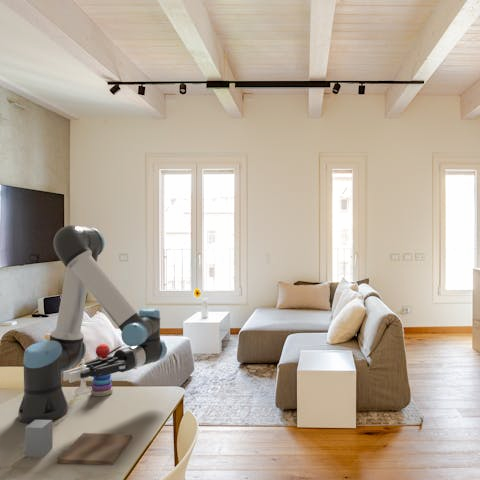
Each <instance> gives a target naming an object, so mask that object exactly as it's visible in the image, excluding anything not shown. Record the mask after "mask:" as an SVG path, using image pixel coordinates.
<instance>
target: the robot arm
mask: <svg viewBox="0 0 480 480" xmlns="http://www.w3.org/2000/svg"><path fill="white" fill-rule="evenodd" d="M104 248H105V238H104V236H103V234H102V233H101V232H100V231H99V230H98V229H96V228H95V227H91V226H88V225H87V226H85V225H74V224H73V225H66V226H64V227H61V228H60V229H58V231H57V232H56V234H55V236H54V237H53V249H54V251H55V253H56V255H57V257H58V258H59V260H60V261H61V262H62V264H63V265H64V266H65V275H64V281H63V286H62V291H61V299H60V303H59V310H58V315H57V321H56V325H55V328H54V330H52V331H51V332H50V334H49V340H44V341H40V342H37V343H36V342H35V343H33V344H31V345H29V346H27V347H26V348H25V350H24V353H23V360H22V363H23V397H22V399H21V402H20V406H19V408H18V411H17V412H18V417H17V419H18V420H19V422H22V423H26V424H30V423H32V422H33V421H34V420H52V421H54V420H56V419H59V418H61V417H63V416H65V415H66V414H67V413H68V409H69V408H68V401H67V399H66V395H65V393H64V390H63V384H62V383H63V381H64V382H66V381H68V383H76V382H78V381H81V379H84V378H85V379H87V378H89V377H91V378H93V377H94V376H96V377H101V376H105V375H108V374H111V375H112V374H115V373H124V372H128V371H130V370H133V369H134V370H137V369H138V368H139V367H143V366H145V365H149V364H153V363H156V362H159V361H160V360H162V359H164V358H165V357H166V355H167V352H168V351H167V350H168V349H167V348H168V347H167V345H166V343H165V341H164V340H163V339H161V315H160V314H161V313H160V310H159V309H158V308H156V307H155V308H153V307H151V308H150V307H149V308H141V309H140V310H139V311H138V312H137V311H136V310H135V308H134V307H133V306H132V305H131V304H130V302H129V301H128V300H127V298H126V297H125V296H124V295H123V294H122V293H121V291H120V290H119V289H118V288H117V285H115V284H114V282H113V281H112V279H111V278H110V277H109V276H108V274H106V272H105V271H104V270H103V268H102V267H101V266H100V265H99V263H98V257H99V255H101V254H102V252H103V251H104ZM88 291H89V292H90V294H91V295H92V296H93V297H94V298H95V300H96V302H98V304H99V305H100V306H101V308H102V309H103V310H104V311H105V313H107V315H108V316H109V318H111V320H112V322H114V323H115V325H116V326H117V328H118V329H119V330H120V331H121V334H120V336H121V339H122V342H123V343H124V344H125V345H126V346H127V347H124V348H120V349H117V350H116V351H115V352H114V354H113V355H111V356H108V357H107V358H104V359H102V357H98V356H97V357H98V358H97V357H96V358H97V359H96V358H95V359H91V360H88V361H84V362H85V363H84V365H86V368H85V369H82V370H81V369H80V365H82V363H81V361H82V359H84V358H85V357H86V353H87V352H86V351H87V346H86V343H85V341H84V337H85V336H84V333H83V332H82V331H81V329H82V324H83V319H84V311H85V306H86V300H87V295H88ZM77 366H78V367H77Z"/></svg>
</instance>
